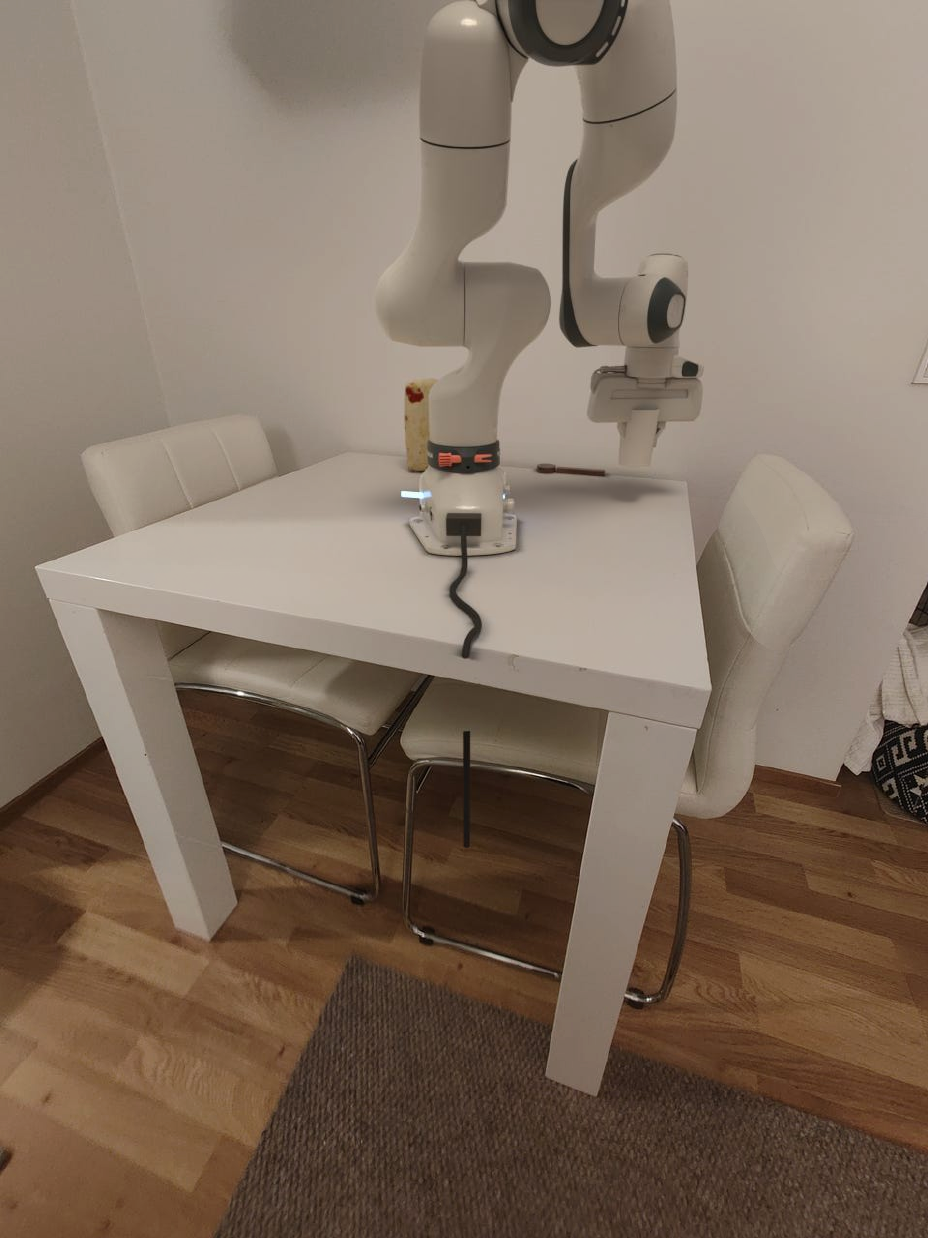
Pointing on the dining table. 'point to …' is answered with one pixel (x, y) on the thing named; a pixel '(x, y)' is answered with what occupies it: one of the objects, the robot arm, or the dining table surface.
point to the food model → (417, 422)
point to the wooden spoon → (568, 470)
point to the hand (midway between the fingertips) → (638, 447)
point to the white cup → (638, 439)
